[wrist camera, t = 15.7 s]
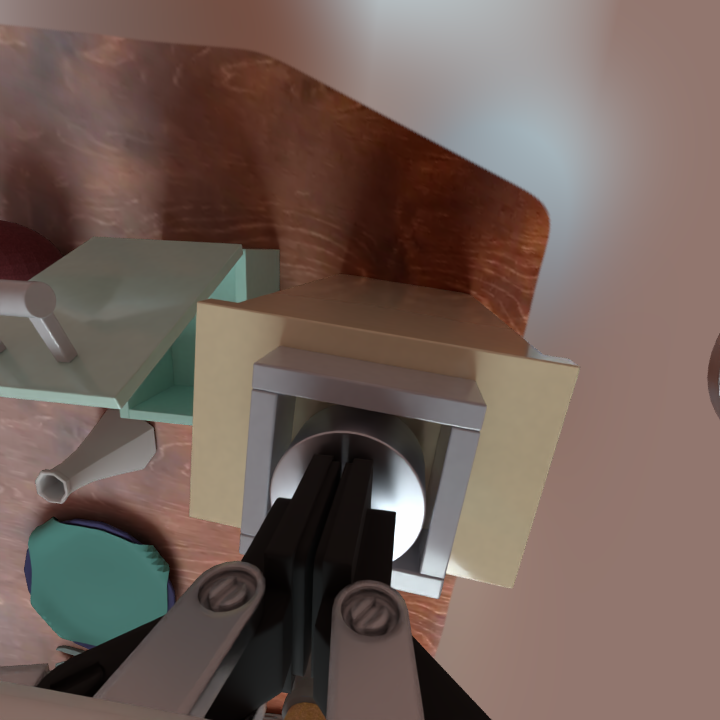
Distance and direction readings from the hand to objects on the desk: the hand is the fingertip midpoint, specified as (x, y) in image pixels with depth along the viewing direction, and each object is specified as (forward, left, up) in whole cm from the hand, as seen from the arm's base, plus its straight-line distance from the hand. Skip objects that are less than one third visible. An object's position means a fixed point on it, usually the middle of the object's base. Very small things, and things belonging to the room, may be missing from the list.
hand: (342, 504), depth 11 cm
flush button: (0, 0, -2) cm, 2 cm away
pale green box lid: (+12, -12, -13) cm, 22 cm away
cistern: (0, 0, -28) cm, 28 cm away
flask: (+32, -5, -28) cm, 43 cm away
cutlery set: (+51, +12, -28) cm, 60 cm away
